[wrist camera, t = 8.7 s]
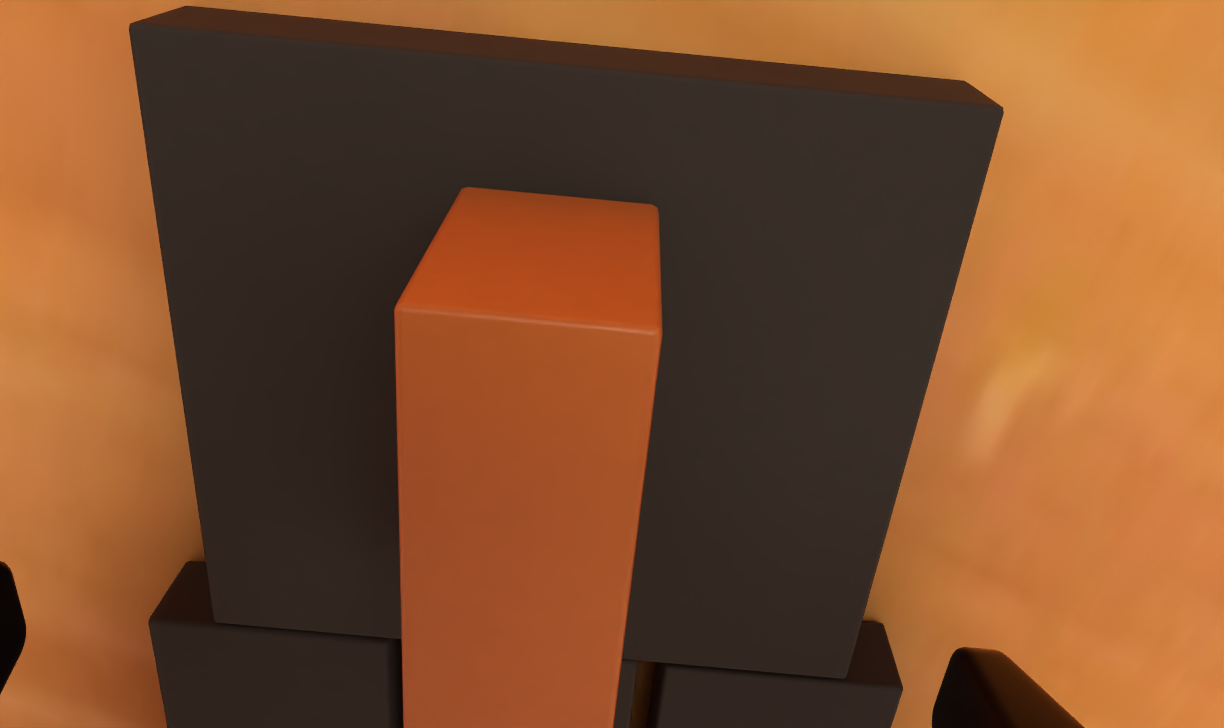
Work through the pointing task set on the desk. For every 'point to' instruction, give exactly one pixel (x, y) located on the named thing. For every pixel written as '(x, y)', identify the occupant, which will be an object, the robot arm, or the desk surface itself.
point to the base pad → (373, 686)
